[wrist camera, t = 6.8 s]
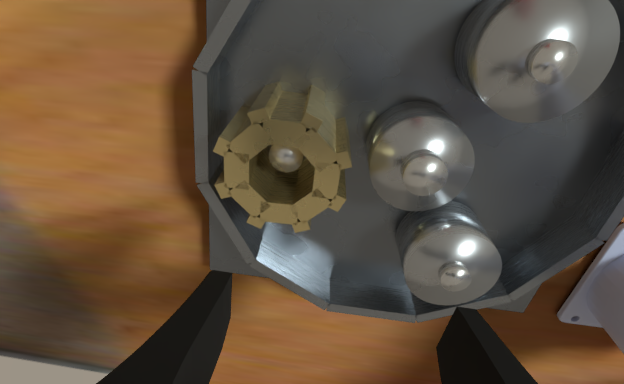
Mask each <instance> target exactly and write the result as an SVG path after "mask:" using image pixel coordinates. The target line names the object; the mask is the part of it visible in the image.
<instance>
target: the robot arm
mask: <svg viewBox="0 0 624 384" xmlns="http://www.w3.org/2000/svg"><path fill="white" fill-rule="evenodd" d="M231 291H232V273H230V272H223V271H217V270H212V271H211V272H209V273H208V275H207V276H206V277H205V279H204V280H203V281H202V282H201V284H200V285H199V286H198V287H197V288H196V290H195V291H194V292H193V293H192V294H191V295H190V297H189V298H188V299H187V300H186V301H185V302H184V303H183V304H182V305H181V307H180V308H179V309H178V310H177V311H176V312H175V313H174V314H173V315H172V316H171V317H170V318H169V319H168V320H167V321H166V322H165V323H164V324H163V325H162V326H161V327H160V328H159V329H158V330H157V331H156V332H155V333H154V334H153V335H152V336H151V337H150V338H149V339H148V340H147V341H146V342H145V343H144V344H143V345H142V346H141V347H139V348H138V349H137V350H136V351H135V352H134V353H133V354H132V355H130V356H129V357H128V358H127V359H126V360H125V361H124V362H122V363H121V364H120V365H119V366H118V367H116V368H115V369H114V370H113V371H112V372H110V373H109V374H108V375H107V376H105V377H104V378H103V379H102V380H101V381H99V382H98V383H96V384H209V382H210V379H211V376H212V374H213V371H214V369H215V366H216V363H217V361H218V358H219V355H220V353H221V350H222V347H223V343H224V340H225V336H226V332H227V328H228V325H229V321H230V316H231ZM557 317H558V318H559V320H560V321H561V322H565V323H572V324H579V325H586V326H594V327H601V328H604V329H605V331H606V332H607V333H608V334H609V336H610V337H611V338H612V340H613V341H614V342H615V344H616V345H617V346H618V347H619V349H620V350H621V351H622V353H623V354H624V223H623V224H621V225H619V226H618V227H617V228H616V229H615V231H614V232H613V233H612V235H611V236H610V238H609V239H608V241H607V242H606V244H605V245H604V246H603V248H602V249H601V251H600V252H599V254H598V255H597V257H596V258H595V259H594V261H593V262H592V264H591V265H590V267H589V268H588V270H587V271H586V272H585V274H584V275H583V277H582V278H581V280H580V281H579V283H578V284H577V285H576V287H575V288H574V290H573V291H572V293H571V294H570V296H569V297H568V298H567V300H566V301H565V303H564V304H563V306H562V307H561V309H560V310H559V311H558V313H557ZM436 348H437V356H438V363H439V370H440V376H441V382H442V384H538V383H537V382H536V381H535V380H534V379H533V378H532V376H531V375H530V374H529V373H528V372H527V371H526V369H525V368H524V367H523V366H522V365H521V363H520V362H519V361H518V360H517V359H516V358H515V356H514V355H513V354H512V353H511V352H510V350H509V349H508V348H507V347H506V345H505V344H504V343H503V342H502V341H501V339H500V338H499V337H498V336H497V334H496V333H495V332H494V331H493V330H492V328H491V327H490V326H489V325H488V323H487V322H486V321H485V320H484V319H483V317H482V316H481V315H480V314H479V313H478V311H477V310H476V309H471V308H464V307H456V309H455V311H454V313H453V315H452V317H451V319H450V321H449V323H448V325H447V327H446V329H445V331H444V333H443V335H442V337H441V339H440V341H439V343H438V345H437V347H436Z"/></svg>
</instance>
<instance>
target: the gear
mask: <svg viewBox="0 0 624 384" xmlns="http://www.w3.org/2000/svg"><path fill="white" fill-rule="evenodd" d="M324 104H325V92H324V91H322V90H320V89H319V88H317V87H315V86H313V85H312V86H311V88H310V90H309V92H308V94H306V93H297V92H288V91H283V90H282V87H281V84H280V81H279V82H275V83H272V84H269V85H265V87H264V88H263V90H262V91H261V93H260V94H259V96H258V97H257V99H256V100H255V102H254V103H253V105H252V106H251V108H250V109H248V108H246V107H244V106H242V107H241V108H240V109H239V111H238V112H237V113H236V115H235V116H234V117H233V119H232V120H231V121H230V123H229V124H228V125H227V127H226V128H225V129H224V131H223V132H222V133H221V135H220V136H219V138H218V141H217V143H216V145H215V148H214V150H213V152H215V153H217V154H219V155H221V156H223V157H224V169H223V171H222V173H221V174H220V176H219V178H218V179H217V181H216V183H215V187H216V189H217V191H218V193H219V195H220V197H221V199H223V198H227V197H232V198H233V199H234V200H235V201H236V202H237V203H238V204H240V205H241V206H242V207H243V208H244V209H245V210H246V211H247V212H248V213H249V216H248V219H247V222H246V223H249V224H251V225H253V226H255V227H258V228H260V229H261V228H262V226H263V225H264V223H265V222H273V223H282V224H291V225H292V227H293V229H294V232H295V233H297V232H301V231H306V230H310V227H311V218H313V217H314V216H316V215H317V214H319V213H321V212H322V211H324V210H325V209H327V208H330V209H333V210H335V211H337V212H338V211H339V210H340V208H341V207H342V205H343V204H344V202H345V201H346V183H345V169H346V168H350V167H352V162H351V151H350V141H349V130H348V127H347V123H346V119H345V117H343V118H340V119H335V118H334V117H333V116H332V114H331V113H330V112H329V111H328V109H327V108H326V107H325V106H324ZM268 145H277V146H286V147H295V148H298V149H299V150H300V151H301V152H302V154H303V155H304V156H305V157H306V158H307V159H306V160H304V161H303V162H302V164H301V165H300V167H299V168H298V169H296V170H295V171H292V172H281V171H279V170H277V169H275V168H274V167H273V166H272V164H271V163H270V160H269V151H270V150H269V149H268V148H267V146H268Z"/></svg>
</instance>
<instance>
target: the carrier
mask: <svg viewBox="0 0 624 384" xmlns="http://www.w3.org/2000/svg"><path fill="white" fill-rule="evenodd" d="M206 20H207V42H206V44H205V46H204V48H203V49H202V51H201V53H200V55H199V56H198V58H197V60H196V62H195V63H194V65H193V67H194V69H193V70H192V88H193V117H194V145H195V174H196V183H198V184H197V186H198V188H199V190H200V191H201V193H202V194H203V196H204V197H205V199H206V201H207V202H208V204H209V239H210V270H217V271H223V272H230V273H237V274H244V275H252V276H259V277H266V278H271V279H272V280H274V281H276V282H277V283H279V284H281V285H282V286H284V287H286V288H288V289H289V290H291V291H293V292H294V293H296V294H298V295H299V296H301V297H303V298H305V299H306V300H308V301H310V302H311V303H313V304H315V305H316V306H318V307H320V308H322V309H323V310H325V309H326V308H327V311H331V312H339V313H346V314H353V315H361V316H368V317H375V318H383V319H390V320H397V321H405V322H412V323H415V321H416V320H417V323H418V322H423V321H427V320H432V319H436V318H441V317H445V316H450V315H453V313H454V311H455V309H456V307H464V308H471V309H476V310H477V309H482V308H492V309H499V310H507V311H514V312H521V313H523V312H524V311H525V309H526V308H527V306H528V304H529V303H530V301H531V300H532V298H533V296H534V295H535V293H536V291H537V290H538V288H539V287H540V285H541V283H543V282H544V281H546V280H547V279H549V278H551V277H552V276H554V275H555V274H557V273H558V272H560V271H562V270H563V269H565V268H566V267H568V266H569V265H571V264H573V263H574V262H576V261H577V260H579V259H580V258H582V257H583V256H585V255H587V254H588V253H590V252H591V251H593V250H594V249H596V248H598V247H599V246H601V245H602V244H604V242H603V241H602V240H604V241H607V240H608V239H609V237H610V236H611V234H612V233H613V231H614V230H615V228H616V227H617V226H618V224H619V223H620V221H621V220H622V218H623V217H624V0H206ZM279 81H280V84H281V87H282V90H283V91H288V92H297V93H306V94H308V92H309V90H310V88H311V86H312V85H313V86H315V87H317V88H319V89H320V90H322V91H324V92H325V104H324V106H325V107H326V108H327V109H328V111H329V112H330V113H331V114H332V116H333V117H334V118H335V119H340V118H343V117H345V119H346V123H347V127H348V130H349V141H350V151H351V162H352V167H350V168H346V169H345V183H346V201H345V202H344V204H343V205H342V207H341V208H340V210H339V211H338V212H337V211H335V210H333V209H330V208H327V209H325V210H324V211H322V212H321V213H319V214H317V215H316V216H314V217H313V218H311V227H310V230H306V231H301V232H297V233H295V232H294V229H293V227H292V225H291V224H282V223H273V222H265V223H264V225H263V226H262V228H261V229H260V228H258V227H255V226H253V225H251V224H249V223H246V222H247V219H248V216H249V213H248V212H247V211H246V210H245V209H244V208H243V207H242V206H241V205H240V204H238V203H237V202H236V201H235V200H234V199H233V198H232V197H227V198H223V199H221V197H220V195H219V193H218V191H217V189H216V187H215V183H216V181H217V179H218V178H219V176H220V174H221V173H222V171H223V169H224V157H223V156H221V155H219V154H217V153H215V152H213V150H214V148H215V145H216V143H217V141H218V138H219V136H220V135H221V133H222V132H223V131H224V129H225V128H226V127H227V125H228V124H229V123H230V121H231V120H232V119H233V117H234V116H235V115H236V113H237V112H238V111H239V109H240V108H241V107H242V106H244V107H246V108H248V109H250V108H251V106H252V105H253V103H254V102H255V100H256V99H257V97H258V96H259V94H260V93H261V91H262V90H263V88H264V87H265V85H269V84H272V83H275V82H279ZM267 148H268V149H269V150H270V151H269V160H270V163H271V164H272V166H273V167H274V168H275V169H277V170H279V171H281V172H292V171H295V170H296V169H298V168H299V167H300V165H301V164H302V162H303V161H304V160H306V159H307V158H306V157H305V156H304V155H303V154H302V152H301V151H300V150H299V149H298V148H295V147H286V146H277V145H268V146H267Z"/></svg>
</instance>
